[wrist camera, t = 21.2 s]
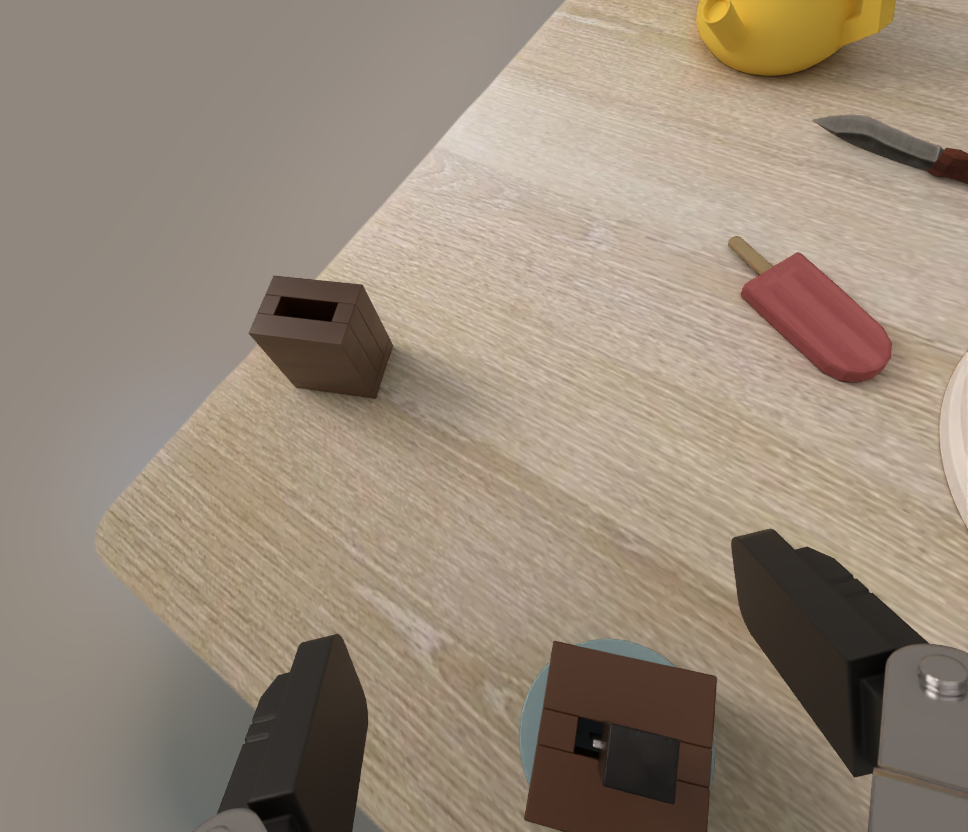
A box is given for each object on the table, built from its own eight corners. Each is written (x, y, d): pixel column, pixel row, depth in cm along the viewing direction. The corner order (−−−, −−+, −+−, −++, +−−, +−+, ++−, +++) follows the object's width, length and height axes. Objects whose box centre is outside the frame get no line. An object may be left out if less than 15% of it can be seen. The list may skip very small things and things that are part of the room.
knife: (803, 135, 54) (815, 105, 51) (811, 124, 54) (824, 94, 52) (1035, 218, 47) (1063, 189, 45) (1043, 205, 48) (1071, 175, 45)
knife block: (375, 398, 48) (340, 344, 41) (295, 387, 50) (248, 333, 43) (393, 344, 50) (362, 284, 43) (315, 335, 52) (273, 275, 45)
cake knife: (640, 767, 35) (684, 808, 20) (586, 753, 35) (593, 784, 21) (643, 728, 35) (689, 741, 21) (591, 716, 36) (601, 720, 22)
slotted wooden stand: (704, 878, 33) (739, 925, 26) (503, 820, 35) (485, 849, 28) (717, 662, 37) (751, 650, 30) (538, 623, 40) (529, 604, 32)
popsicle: (760, 215, 49) (912, 347, 43) (755, 229, 50) (902, 359, 44) (706, 248, 48) (852, 387, 42) (702, 261, 50) (843, 397, 43)
